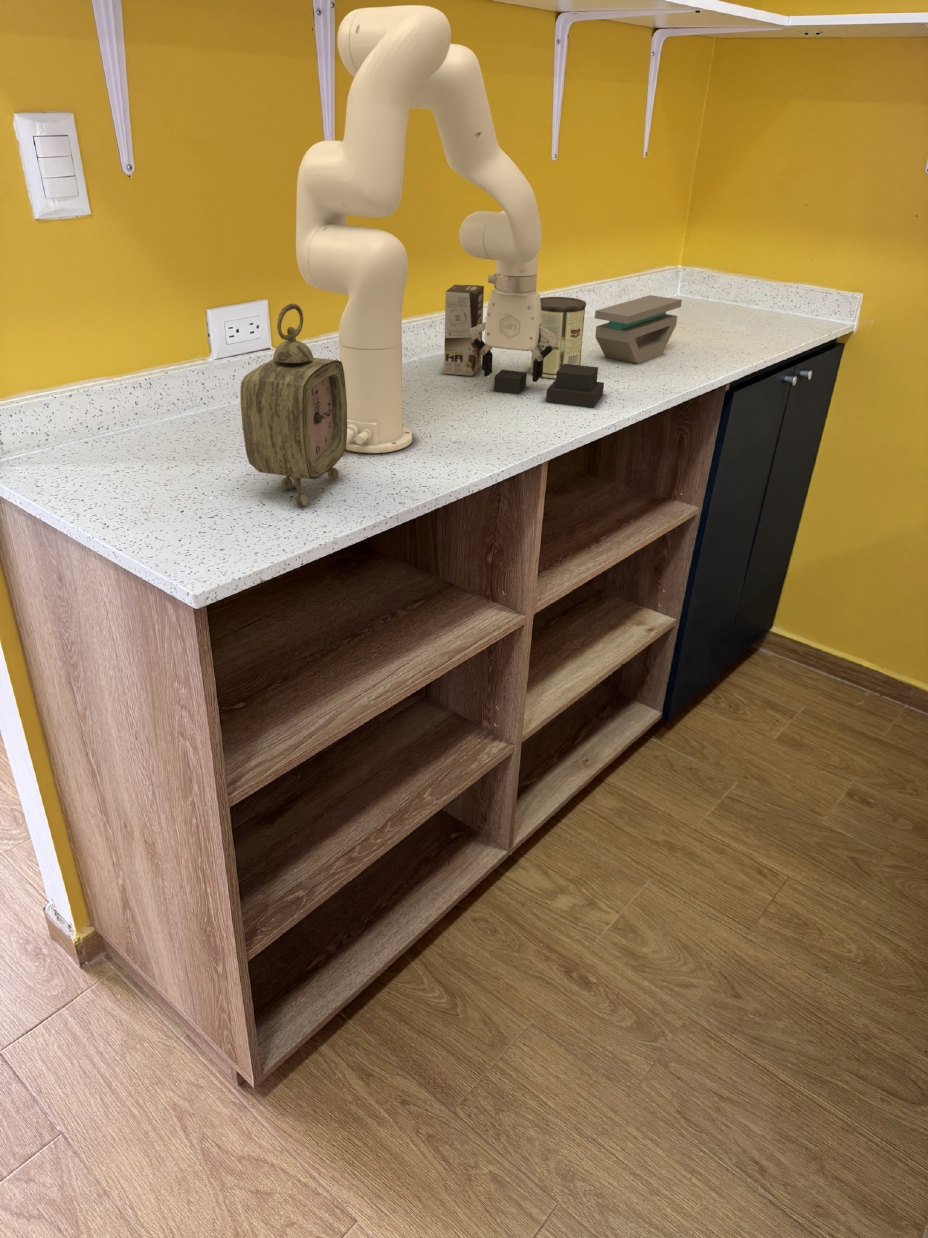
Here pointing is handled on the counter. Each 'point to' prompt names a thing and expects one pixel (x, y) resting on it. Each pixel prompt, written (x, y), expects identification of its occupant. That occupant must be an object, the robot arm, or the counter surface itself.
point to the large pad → (575, 396)
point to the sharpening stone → (636, 328)
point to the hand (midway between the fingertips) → (511, 377)
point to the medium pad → (576, 377)
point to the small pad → (510, 381)
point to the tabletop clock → (295, 412)
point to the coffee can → (562, 332)
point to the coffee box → (462, 329)
